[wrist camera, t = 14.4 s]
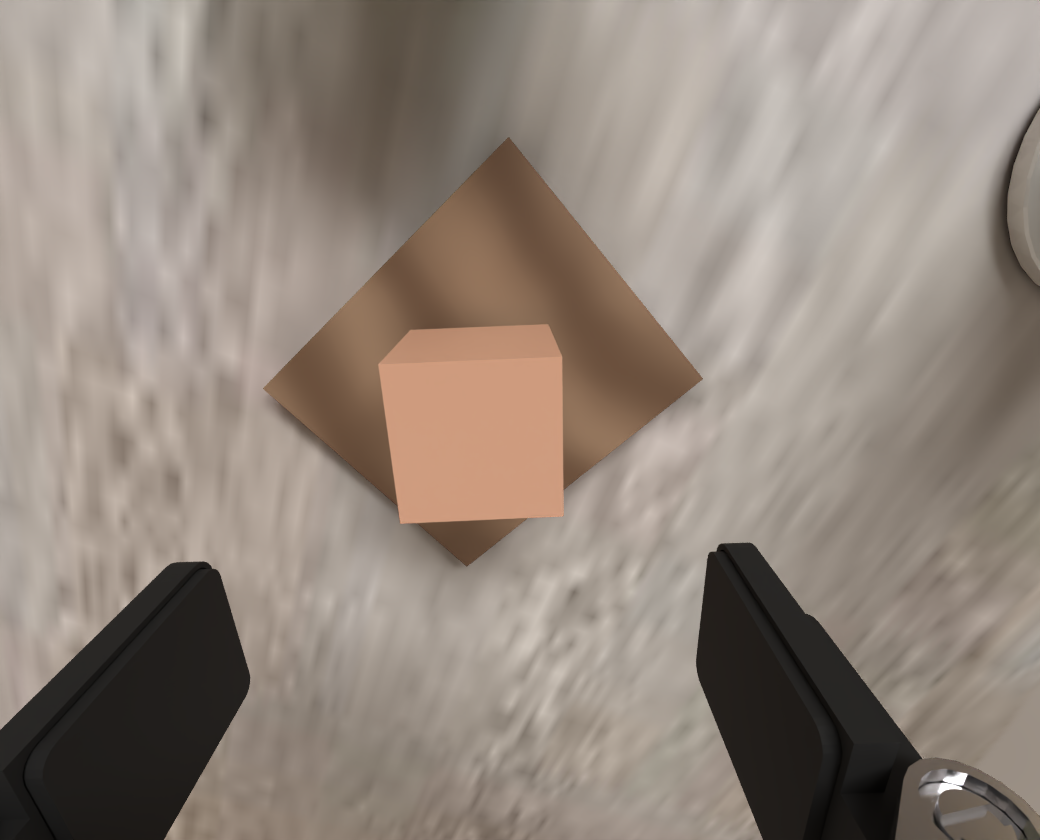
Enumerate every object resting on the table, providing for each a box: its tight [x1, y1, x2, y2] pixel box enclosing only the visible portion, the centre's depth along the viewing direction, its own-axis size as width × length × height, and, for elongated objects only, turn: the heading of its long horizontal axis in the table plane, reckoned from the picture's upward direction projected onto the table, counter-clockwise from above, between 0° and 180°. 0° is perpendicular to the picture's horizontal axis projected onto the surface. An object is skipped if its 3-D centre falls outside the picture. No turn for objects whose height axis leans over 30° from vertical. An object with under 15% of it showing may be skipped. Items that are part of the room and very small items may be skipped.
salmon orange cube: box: [378, 324, 564, 524], centre depth 21 cm, size 6×6×6 cm
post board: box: [263, 137, 703, 566], centre depth 22 cm, size 16×14×8 cm
